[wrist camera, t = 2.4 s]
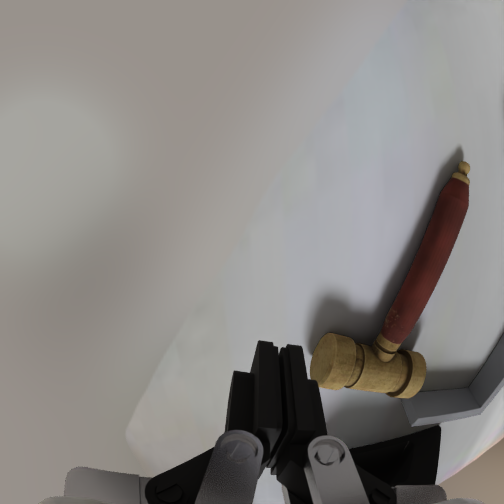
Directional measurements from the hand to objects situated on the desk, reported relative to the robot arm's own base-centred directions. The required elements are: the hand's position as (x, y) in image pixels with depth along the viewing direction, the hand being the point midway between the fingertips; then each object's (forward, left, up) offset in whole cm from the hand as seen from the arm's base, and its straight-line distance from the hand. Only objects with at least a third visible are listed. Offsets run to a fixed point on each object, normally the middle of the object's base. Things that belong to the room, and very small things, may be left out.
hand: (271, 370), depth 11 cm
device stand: (-23, +35, -11) cm, 43 cm away
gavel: (-12, -1, -11) cm, 16 cm away
